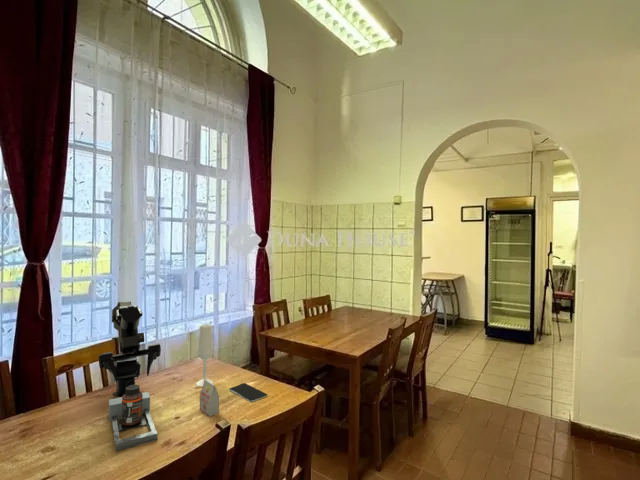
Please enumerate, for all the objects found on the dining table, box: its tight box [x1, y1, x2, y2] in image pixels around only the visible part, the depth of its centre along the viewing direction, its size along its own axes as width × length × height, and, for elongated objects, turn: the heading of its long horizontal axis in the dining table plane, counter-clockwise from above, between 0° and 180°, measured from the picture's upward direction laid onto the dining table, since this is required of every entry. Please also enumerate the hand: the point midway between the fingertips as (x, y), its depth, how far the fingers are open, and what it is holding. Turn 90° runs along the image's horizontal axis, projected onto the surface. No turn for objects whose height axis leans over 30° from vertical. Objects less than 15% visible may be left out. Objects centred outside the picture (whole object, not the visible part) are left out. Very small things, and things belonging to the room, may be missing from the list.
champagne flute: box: [195, 323, 214, 387], centre depth 147 cm, size 7×7×24 cm
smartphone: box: [228, 382, 268, 403], centre depth 138 cm, size 8×1×15 cm
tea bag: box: [199, 380, 220, 417], centre depth 123 cm, size 4×7×10 cm, turn 45°
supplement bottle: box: [120, 384, 143, 426], centre depth 114 cm, size 6×6×11 cm
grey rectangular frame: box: [111, 408, 159, 452], centre depth 110 cm, size 20×11×2 cm, turn 34°
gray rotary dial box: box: [108, 391, 151, 422], centre depth 121 cm, size 5×12×6 cm, turn 123°
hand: (132, 378), depth 118 cm, fingers open, 9 cm apart
